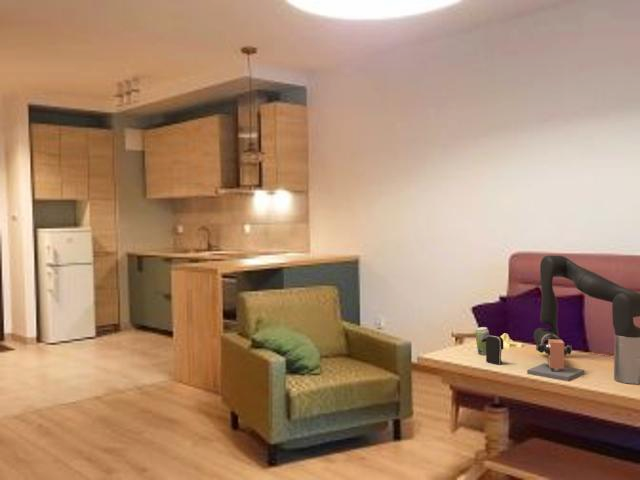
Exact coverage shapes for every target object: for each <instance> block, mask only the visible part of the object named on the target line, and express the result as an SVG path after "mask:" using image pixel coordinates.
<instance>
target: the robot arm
mask: <svg viewBox="0 0 640 480" xmlns="http://www.w3.org/2000/svg"><path fill="white" fill-rule="evenodd" d="M539 265H540V266H539V267H540V268H539V269H540V270H539V273H540V287H541V288H540V289H541V290H540V291H541V307H540V315H539V316H540V317H539V320H540V323H542V324H545V325H548V326H550V328H546V327H545V328H544V327H538V328H536V329H534V331H533V340H534V342H535V343H536V344H535V350H536V351H537V352H539V353H541V354H542V353H545V354H547V356H548V355H550V348H549V347H548V339H556V340H561V339H560V334H559V327H558V313H559V303H558V299H557V297H556V294H555V292H554V287H553V281H554V277H555V278H565V279H568V280H569V281H572V282H573V284H574V286H575V287H576V289H577V290H578V291H579V292H581V293H583V294H585V295H587V296H588V297H591V298H593V299H597V300H601V301H605V302H610V303H611V305H612V307H611V308H612V309H611V310H612V312H611V313H612V314H611V315H612V326H613V329H614V353H613V354H614V355H613V356H614V357H613V358H614V359H613V360H614V361H613V362H614V363H613V380H614V381H616V382H617V383H618V382H619V383H623V384H633V385H634V384H635V385H639V384H640V327H639V326H637V325H635V323H634V318H638V317H640V292H637V291H634V290H631V289H629V288H626V287H624V286H621V285H619V284H617V283H615V282H613V281H612V280H610V279H607V278H606V277H604V276H602V275H600V274H598V273H595V272H594V271H591V270H589V269H586V267H585V268H584V267H582V266H580V265H578V264H576V263H575V262H573V261H572V260H570V259H569V258H567V257H566V256H563V255H545V256H543V257H542V259H541V261H540V264H539ZM572 347H573V345H571V344H568V345H566V346H565V345H564V357H565V356H566V355H571V353H572V351H573V350H572Z"/></svg>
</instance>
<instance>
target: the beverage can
mask: <svg viewBox="0 0 640 480" xmlns="http://www.w3.org/2000/svg"><path fill="white" fill-rule="evenodd" d="M474 334H475V341H476V349H477V353H478V354H479V355H480V356H481V355H482V356H483V355H484V356H486V338H487V337H488V336H491V335H490V331H489V329H488V327H486V326H481V327H477V328H476V329H475V331H474Z"/></svg>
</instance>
